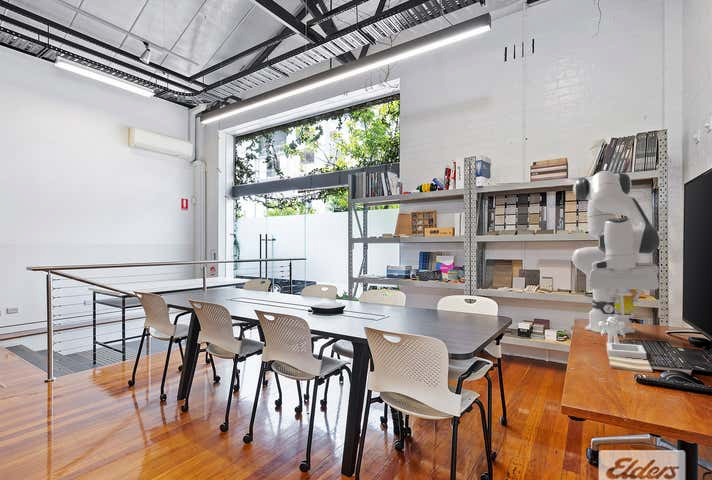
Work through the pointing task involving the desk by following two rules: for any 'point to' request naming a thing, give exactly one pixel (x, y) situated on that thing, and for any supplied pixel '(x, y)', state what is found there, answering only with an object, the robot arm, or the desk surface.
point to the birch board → (630, 364)
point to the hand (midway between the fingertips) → (623, 302)
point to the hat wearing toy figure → (612, 328)
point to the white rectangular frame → (625, 350)
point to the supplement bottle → (623, 303)
